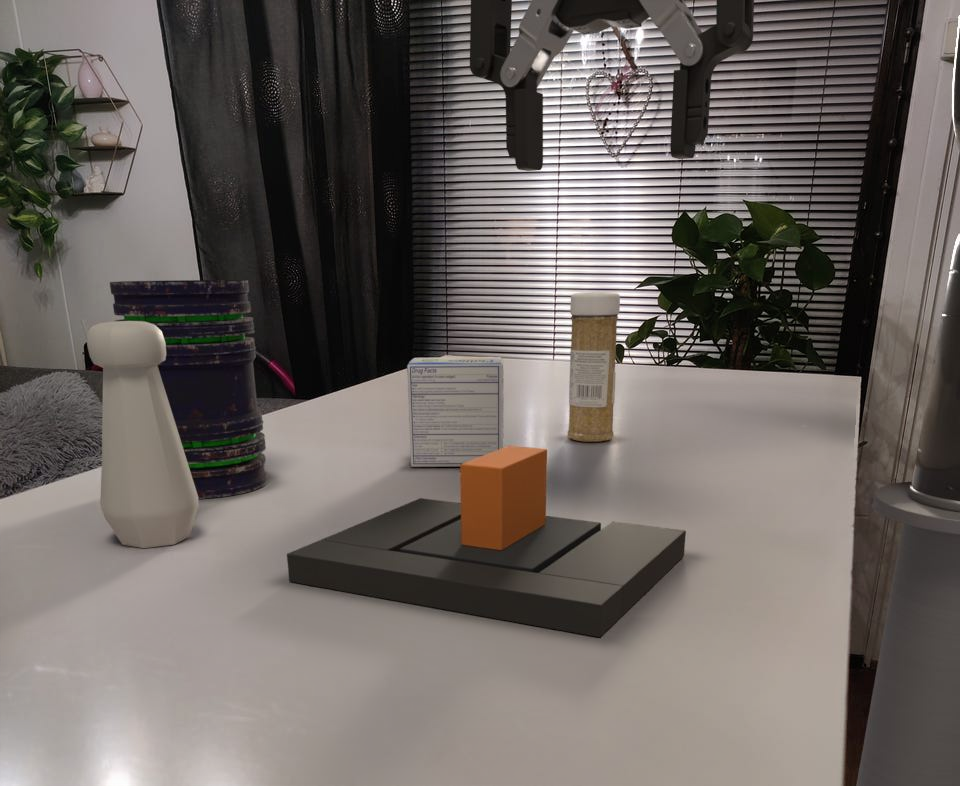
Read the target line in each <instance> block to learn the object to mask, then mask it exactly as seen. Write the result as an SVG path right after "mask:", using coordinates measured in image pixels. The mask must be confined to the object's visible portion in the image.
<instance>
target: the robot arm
mask: <svg viewBox="0 0 960 786" xmlns="http://www.w3.org/2000/svg"><path fill="white" fill-rule="evenodd" d="M715 6H716V12H715V13H716V16H715V18H716V19H715V21H716V22H715V25H713V26H711V27H709V28H707V29H706V30H704V31H702V30H701V28H700V27H699V25H698V22H696V19H695V17H694V15H693V13H692V12H691V10H690V8H689V7H688V5H687V4H686V2H685V1H684V0H531V2H530V3H529V5H528V7H527V9H526V11H525V12H524V15H523V17H522V19H521V20H520V23H519V26H518V36H517V37H516V40H515V42H514V43H513V45H512V47H511V43H512V42H511V41H512V13H513V12H512V9H513V8H512V7H513V0H470V19H469V20H470V26H469V28H470V29H469V69H470V72H471V74H472V75H473V76H474V77H476V78H480V79H484V80H486V81H489V82H492V83H495V84H498V85H499V86H500V87H501V88H502V90H503V92H504V96H505V97H504V98H505V135H506V136H505V145H506V146H505V147H506V151H507V154H508V156H509V159H514V163H515V166H516V169H517V170H520V171H525V172H534V171H535V172H536V171H541V170H542V169H543V165H544V94H543V93H541V92H538V87H539V86H540V84H541V82H542V80H543V78H544V77H545V75H546V73H547V71H548V69H549V68H550V66H551V64H552V62H553V61H554V59H555V58H556V56H558V55H559V54H560V53H562V51H564V49H565V47H566V45H567V44H568V42H569V40H570V38H571V36H572V34H573V33H574V31H575V32H577V33H579V34H581V35H583V36H585V35H593V34H599V33H600V32H603V31H605V30H608V29H609V28H611V27H616V28H620V29H625V30H629V29H637V28H642V24H643V23H644V22H646V21H647V20H648V19H651V21H652V22H653V24H654V26H656V28H657V29H658V30H659V31H660V33H661V34H662V35H663V37H664V39H665V40H666V42H667V43H668V45H669V47H670V48H671V50H672V51H673V53H674V54H675V56H676V57H677V59H678V61H679V69H674V70H673V79H672V81H673V82H672V102H671V121H670V122H671V124H670V141H669V142H670V144H669V148H670V149H669V150H670V156H671V157H672V158H674V159H677V160H684V159H687V160H688V159H694V157H695V155H696V154H695V153H696V146H700V145H704V144H705V141H706V138H707V137H708V133H709V123H710V122H709V119H710V108H711V107H710V105H711V89H712V76H713V73H714V71H715V68H717V66H718V65H719V64H720V63H721V62H722V61H724V60H727V59H728V58H730V57H732V56H733V55H736V54H743V53H745V52H746V51H748V49H750V48H751V45H752V44H753V41H754V23H755V22H754V17H755V16H754V15H755V12H754V11H755V0H716V5H715ZM955 46H956V47H955V56H954V67H953V77H952V95H951V96H952V97H951V98H952V99H951V101H952V102H951V111H952V112H951V113H952V124H953V131H954V137H955V141H956V144H957V146H958V147H957V148H958V150H959V151H960V16H958V27H957V37H956V45H955ZM949 270H950V271H949V272H948V277H947V282H946V288H945V293H944V300H943V305H942V310H941V317H940V321H939V322H940V323H939V329H938V334H937V340H936V345H935V352H934V357H933V362H932V368H931V374H930V378H929V383H928V391H927V395H926V402H925V407H924V412H923V419H922V424H921V430H920V434H919V440H918V447H917V451H916V457H915V462H914V468H913V474H912V480H911V482H912V483H911V484H910V488H909V494H908V496H909V497H910V498H911V499H912V500H914V501H916V502H918V503H921V504H923V505H927V506H930V507H934V508H938V509H943V510H948V511H954V512H960V233H959V234H958V236H957V237H956V239H955V241H954V245H953V250H952V255H951V259H950V266H949Z"/></svg>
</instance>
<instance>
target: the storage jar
mask: <svg viewBox="0 0 960 786" xmlns="http://www.w3.org/2000/svg"><path fill="white" fill-rule="evenodd" d="M109 288H110V294H111V295H113V301H114V303H113V304H112V308H113V314H114V316H121V317H123V318H122V319H115V320H113V322H115V321H143V322H148V323H151V324H154V325H156V326H157V327H158V328H159V329H160V330H161V331H162V333H163V337H164V340H165V344H166V359H165V361H163V362H161V363H160V364H158V365H157V366H158V369H159V372H160V375H161V379H162V382H163V385H164V388H165V392H166V395H167V398H168V401H169V404H170V408H171V411H172V414H173V417H174V421H175V424H176V427H177V430H178V433H179V437H180V440H181V443H182V446H183V450H184V453H185V456H186V459H187V462H188V466H189V469H190V472H191V475H192V478H193V482H194V485H195V488H196V491H197V495H198V500H201V499H203V500H204V499H215V498H223V497H230V496H237V495H241V494H246V493H249V492H253V491H256V490H259V489H261V488H263V487H265V486H266V485H267V484H268V473H267V472H266V470H265V463H266V461H267V459H266V455H265V454H264V453H263V452H265V451H266V449H267V446H266V435H265V433H263V430H264V420H263V414H262V412H261V411H260V409H259V407H258V401H257V400H258V399H257V390H256V389H257V388H256V381H255V379H256V378H255V369H254V361H255V359H256V357H257V355H256V354H257V353H256V349H257V347H256V344H255V338H254V337H252V336H246V335H250V334H251V335H252V334H254V333H255V323H254V317H251V316H244V314H248V313H251V312H252V307H251V301H250V300H249V297H248V293H249V292H250V287H249V280H247V279H204V280H203V279H200V280H199V279H196V280H195V279H191V280H188V279H187V280H185V279H183V280H181V279H180V280H179V279H177V280H127V281H125V280H123V281H122V280H121V281H120V280H119V281H109Z"/></svg>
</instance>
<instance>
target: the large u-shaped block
mask: <svg viewBox="0 0 960 786" xmlns="http://www.w3.org/2000/svg"><path fill="white" fill-rule="evenodd" d="M460 519H461V502H455V501H448V500H440V499H439V500H438V499H430V498H423V497H422V498H421V497H420V498H418V499H414V500H413V501H410V502H408V503H406V504H403V505H400V506H398V507H396V508H394V509H391V510H389V511H386V512H384V513H381V514H378V515H377V516H375V517H372V518H370V519H367V520H365V521H362V522H360V523H357V524H355V525H353V526H350V527H348V528H346V529H343V530H341V531H338V532H336V533H334V534H331V535H329V536H326V537H324V538H322V539H319V540H317V541H313V542H312V543H309V544H307V545H305V546H303V547H300V548H297V549H295V550H292V551H291V552H287V554H286V562H287V571H288V580H289V581H288V582H290V583H296V584H301V585H306V586H307V585H308V586H313V587H319V588H323V589H330V590H335V591H341V592H345V593H351V594H357V595H363V596H368V597H373V598H380V599H386V600H391V601H395V602H401V603H407V604H413V605H418V606H424V607H430V608H433V609H434V608H435V609H439V610H446V611H450V612H455V613H462V614H467V615H474V616H478V617H479V616H480V617H484V618H489V619H490V618H491V619H495V620H501V621H506V622H511V623H512V622H513V623H517V624H518V623H519V624H523V625H528V626H535V627H540V628H545V629H551V630H556V631H563V632H569V633H574V634H578V635H579V634H580V635H585V636H590V637H595V638H601V637H602V636H603V635H604V634H606V632H607V631H608V630H609V629H611V627H612V626H614V624H616V623H617V622H618V621H619V620H620V619H621V618H622V617H623V616H624V615H625V614H626V613H627V612H628V611H629V610H630V609H631V608H632V607H633V606H634V605H635V604H636V603H637V602H638V601H639V600H641V598H642V597H643V596H644V595H645V594H647V592H649V591H650V590H651V588H652V587H654V586H655V585H656V584H657V583H658V582H659V581H660V580H661V579H662V578H663V577H664V576H665V575H666V574H667V573H668V572H669V571H670V570H671V569H672V568H673V567H674V566H675V565H676V564H677V563H679V561H680V560H682V559H683V558H684V556H685V549H686V548H685V547H686V535H687V531H686V530H685V529H679V528H671V527H670V528H669V527H662V526H655V525H654V526H653V525H646V524H636V523H629V522H620V521H612V522H610V523H609V524H607V525H606V526H604V527H603V528H601V530H600V531H599V532H597V533H596V534H594V535H593V536H591V537H590V538H588V539H587V540H586V541H584V542H583V543H581V544H580V545H578V546H577V547H575V548H574V549H573V550H571V551H570V552H568V553H567V554H565V555H564V556H562V557H561V558H560V559H558V560H557V561H555V562H554V563H552V564H551V565H550V566H548V567H547V568H545V569H544V570H542V571H541V572H539V573H533V572H527V571H520V570H514V569H507V568H500V567H494V566H487V565H481V564H474V563H468V562H461V561H455V560H448V559H441V558H435V557H428V556H422V555H415V554H409V553H402V552H400V548H402V547H404V546H407V545H409V544H411V543H413V542H415V541H417V540H419V539H421V538H423V537H425V536H427V535H429V534H431V533H433V532H435V531H437V530H439V529H441V528H443V527H446V526H448V525H450V524H452V523H454V522H456V521H458V520H460Z"/></svg>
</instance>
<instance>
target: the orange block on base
mask: <svg viewBox="0 0 960 786" xmlns="http://www.w3.org/2000/svg"><path fill="white" fill-rule="evenodd" d="M459 470H460V471H459V473H460V474H459V475H460V476H459V477H460V478H459V479H460V480H459V481H460V482H459V483H460V503H461V519H460V520H458V521H456V522H454V523H452V524H450V525H448V526H446V527H443V528H441V529H439V530H437V531H435V532H433V533H431V534H429V535H427V536H425V537H423V538H421V539H419V540H417V541H415V542H413V543H411V544H409V545H407V546H404V547H402V548H400V552H402V553H409V554H415V555H422V556H428V557H435V558H441V559H448V560H455V561H461V562H468V563H474V564H481V565H487V566H494V567H500V568H507V569H514V570H520V571H527V572H533V573H539V572H541V571H542V570H544V569H545V568H547V567H548V566H550V565H551V564H552V563H554V562H555V561H557V560H558V559H560V558H561V557H562V556H564V555H565V554H567V553H568V552H570V551H571V550H573V549H574V548H575V547H577V546H578V545H580V544H581V543H583V542H584V541H586V540H587V539H588V538H590V537H591V536H593V535H594V534H596V533H597V532H599V531H600V530H601V529H602V523H601V522H599V521H592V520H591V521H590V520H583V519H575V518H568V517H567V518H566V517H557V516H551V515H550V516H549V515H547V476H548V474H547V472H548V449H547V448H539V447H527V446H515V445H507V446H504V448H502V449H499V450H497V451H494V452H492V453H489V454H486V455H484V456H481V457H479V458H476V459H473V460H471V461H468V462H466V463H463V464H461V465H460V467H459Z"/></svg>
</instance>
